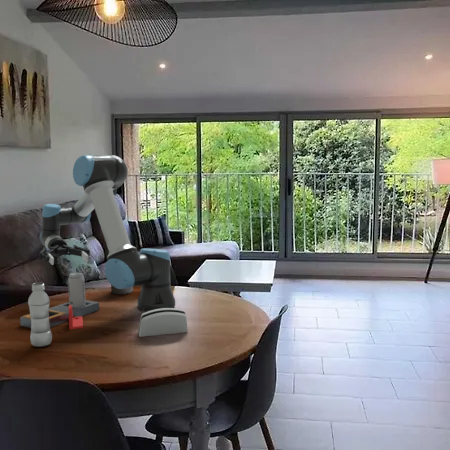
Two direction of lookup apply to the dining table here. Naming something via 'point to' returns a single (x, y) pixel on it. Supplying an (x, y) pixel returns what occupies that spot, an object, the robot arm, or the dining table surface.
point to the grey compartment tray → (63, 313)
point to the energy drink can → (76, 290)
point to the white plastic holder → (162, 322)
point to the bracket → (74, 320)
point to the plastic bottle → (39, 316)
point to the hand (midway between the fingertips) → (70, 260)
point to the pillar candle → (121, 290)
